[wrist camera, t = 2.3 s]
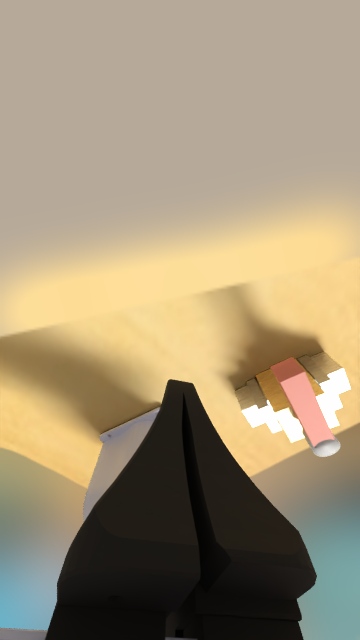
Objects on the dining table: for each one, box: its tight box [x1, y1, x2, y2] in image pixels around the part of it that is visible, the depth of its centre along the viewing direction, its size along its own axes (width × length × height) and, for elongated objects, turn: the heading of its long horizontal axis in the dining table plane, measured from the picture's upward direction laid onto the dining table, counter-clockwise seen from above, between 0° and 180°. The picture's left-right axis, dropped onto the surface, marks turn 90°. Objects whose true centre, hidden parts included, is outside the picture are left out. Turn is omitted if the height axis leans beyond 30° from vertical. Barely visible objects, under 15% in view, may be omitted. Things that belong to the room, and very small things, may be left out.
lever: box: [270, 357, 340, 456], centre depth 15 cm, size 9×2×2 cm, turn 31°
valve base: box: [235, 351, 351, 442], centre depth 20 cm, size 10×4×6 cm, turn 121°
